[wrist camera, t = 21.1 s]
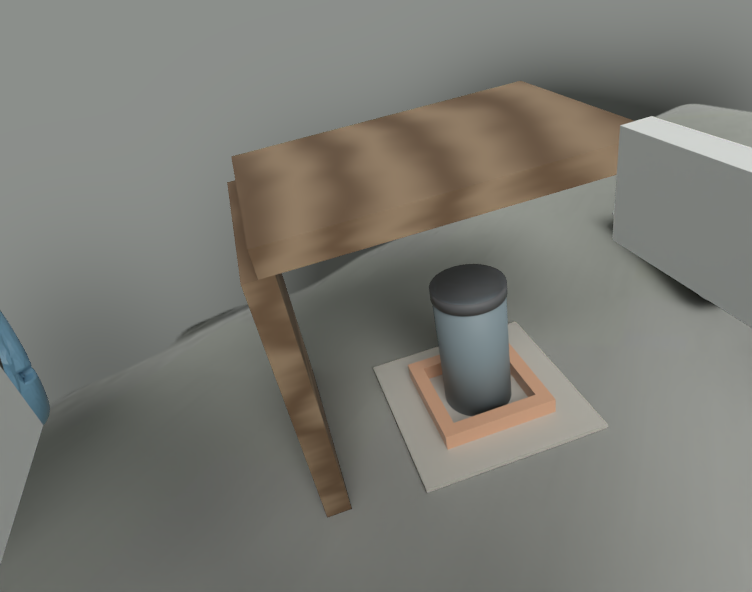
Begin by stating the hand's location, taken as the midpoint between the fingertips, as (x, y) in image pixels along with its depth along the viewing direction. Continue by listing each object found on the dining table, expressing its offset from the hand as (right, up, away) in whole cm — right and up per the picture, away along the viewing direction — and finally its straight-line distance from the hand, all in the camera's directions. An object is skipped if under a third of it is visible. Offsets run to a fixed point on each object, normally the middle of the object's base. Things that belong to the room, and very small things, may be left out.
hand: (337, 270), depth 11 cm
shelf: (+8, -9, +41) cm, 43 cm away
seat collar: (+10, -10, +40) cm, 42 cm away
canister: (+10, -9, +40) cm, 42 cm away
